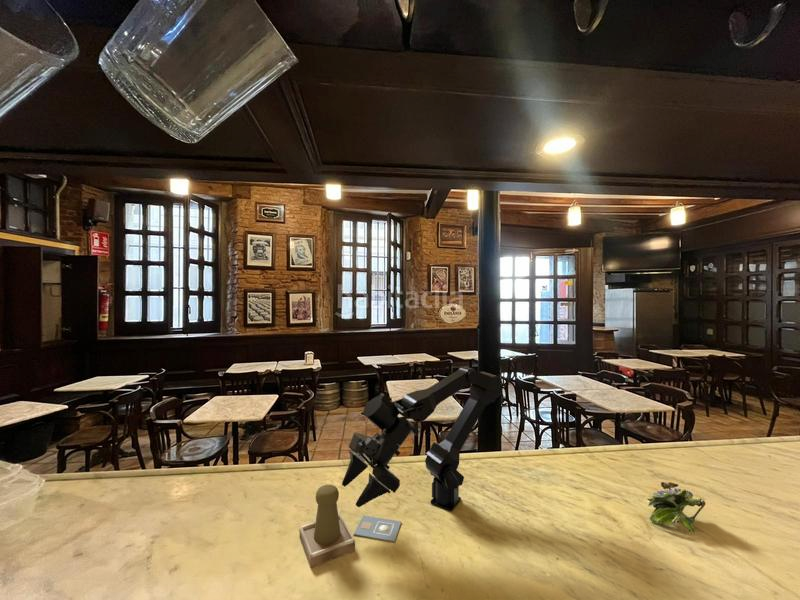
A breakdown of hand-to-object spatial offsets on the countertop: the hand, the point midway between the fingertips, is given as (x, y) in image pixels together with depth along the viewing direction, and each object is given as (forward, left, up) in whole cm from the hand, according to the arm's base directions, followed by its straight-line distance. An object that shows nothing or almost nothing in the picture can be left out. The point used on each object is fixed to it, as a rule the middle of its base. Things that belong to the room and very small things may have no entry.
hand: (349, 495), depth 82 cm
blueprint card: (-4, -6, -10) cm, 12 cm away
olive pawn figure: (+3, +5, -8) cm, 10 cm away
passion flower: (-65, -49, -10) cm, 82 cm away
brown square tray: (+3, +5, -10) cm, 11 cm away
